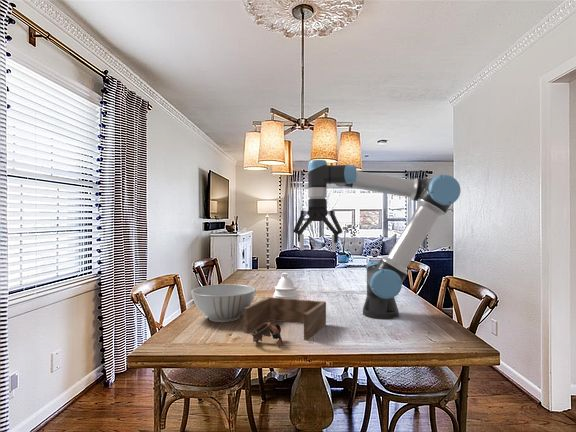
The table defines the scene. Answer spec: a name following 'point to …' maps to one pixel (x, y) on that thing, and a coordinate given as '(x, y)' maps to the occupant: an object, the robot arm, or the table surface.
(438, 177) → the robot arm
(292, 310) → the walnut u-shaped frame
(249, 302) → the decorative bowl
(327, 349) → the table surface
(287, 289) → the honey pot
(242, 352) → the table surface
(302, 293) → the table surface
